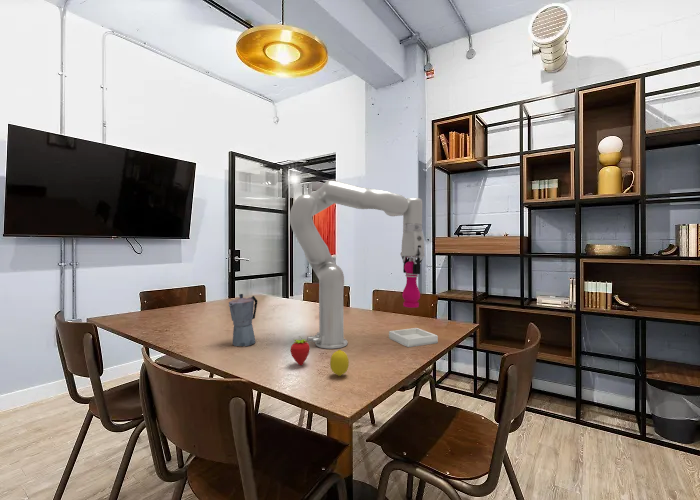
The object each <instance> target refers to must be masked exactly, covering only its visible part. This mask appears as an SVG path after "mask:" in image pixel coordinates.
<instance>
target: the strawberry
mask: <svg viewBox="0 0 700 500" xmlns="http://www.w3.org/2000/svg"><path fill="white" fill-rule="evenodd" d="M306 339H307V338H304V339H302V337H300V339H294V342H293V344H292V345H291V346H290V353H291V357H292V358H293V359H294V361H295V362H296V363H297V364H298V365H299V366H300V367H301V366H303V365H304V363H305V361H306V360H307V357H308V356H309V354H310V349H311V347H310V344H309V343H308V340H306Z"/></svg>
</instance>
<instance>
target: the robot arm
mask: <svg viewBox="0 0 700 500" xmlns="http://www.w3.org/2000/svg"><path fill="white" fill-rule="evenodd" d="M334 204H336V205H341V206H345V207H349V208H354V209H357V210H378V211H383V212H384V214H385V215H387V216H389V217H400V216H403V217H402V224H403V225H402V239H401V252H400V256H401V259H402V264H403V273H404V274H405V273H406V271H405V269H404V266H405V264H406V263H407V262H408V261H410V258H411V257H413V261H414V264H413V274H418V275H420V274H421V264H422V261H423V259H424V258H425V257H426V256H425V239H424V233H423V231H422V230H423V200H422V198H419V197H407V198H406V197H405V196H403V194H402V195H401V194H398V193H394V192H391V191H387V190H386V191H385V190H380V189H373V188H369V187H368V188H367V187H363V186H362V187H361V186H358V185H353V184H350V183H346V182H341V181H338V180H327V181H325V182H324V183H323V184H322V185H321V187H319V188H318V189H316V190H314V191H312V192H311V193H309V194H307V193H304V194H301V195H299V196H298V197H297V198H296V199H295V200H294V202H293V203H292V205H291V208H290V212H289V223H290V226H291V230H292V232H293V234H294V235H295V237H296V240H297V241H298V243H299V246H300V247H301V248H302V250H303V253H304V255H305V258H306V260H307V262H308V264H309V265H310V266H311V268H312V270H313V272H314V273H315V276H316V277H317V279H318V280H319V281H318V283H319V287H318V289H319V290H318V305H319V307H318V310H319V311H318V313H319V314H318V317H319V319H318V320H319V321H318V323H319V324H318V325H319V326H318V327H319V330H318V332H317V333H316V334H315V335H310V336H309V335H308V336H307V337H306V339H307V340H306V341H308V342H312V343H315V346H316V347H318V348H321V349H329V350H331V349H332V350H333V349H341V348H344V347H346V346H348V340H347V339H346V338H344V327H345V326H344V289H345V275H344V271H343V269H342V268H341V267H340V266H339V265H337V262H336V261H335V260H334V258H333V257H332V255H331V252H330V250H329V246H328V245H327V244H326V242H325V241H324V239H323V238H322V236H321V234H320V232H319V231H318V229H317V227H316V225H315V223H314V220H313V217H314V216H315V215H317V214H319V213H320V212H322V211H324V210H326V209H327V208H329V207H331V206H333V205H334ZM308 342H307V343H308Z"/></svg>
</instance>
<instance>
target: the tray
mask: <svg viewBox="0 0 700 500" xmlns="http://www.w3.org/2000/svg"><path fill="white" fill-rule="evenodd" d="M438 338H439V337H438V335H437V334H434V333H432V332H430V331H427V330H425V329H421V328H418V327H414V328H413V327H412V328H405V329H397V330H389V331H388V339H390V340H392V341H393V342H396V343H398V344H400V345H402V346H404V347H406V348H413V347H418V346H425V345H433V344H438V343H439V342H438V341H439V339H438Z"/></svg>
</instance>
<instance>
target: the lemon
mask: <svg viewBox="0 0 700 500" xmlns="http://www.w3.org/2000/svg"><path fill="white" fill-rule="evenodd" d="M331 354H332V355H331V357H330V361H329V365H330V370H331V371H332V372H333V374H335V375H337V376H338V377H341V376H342V375H344V374H345V373H346V372H347V370H349V365H350V364H349V363H350V362H349V357H348V354H347V353H346V352H345V351H344V350H341V349H338V350H336V351H334V352H333V353H331Z"/></svg>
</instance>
